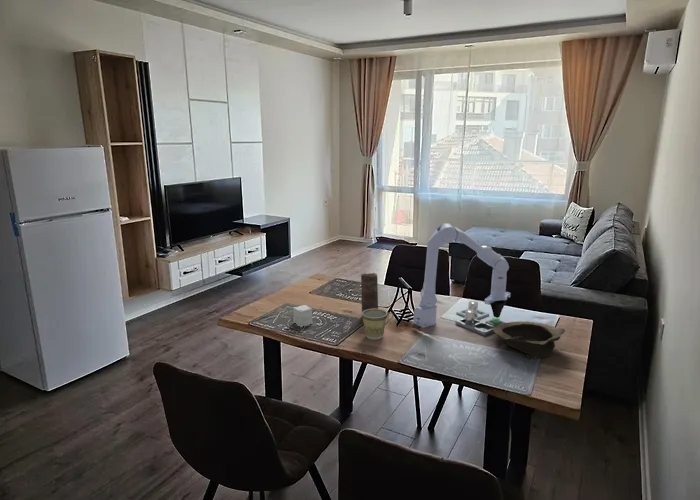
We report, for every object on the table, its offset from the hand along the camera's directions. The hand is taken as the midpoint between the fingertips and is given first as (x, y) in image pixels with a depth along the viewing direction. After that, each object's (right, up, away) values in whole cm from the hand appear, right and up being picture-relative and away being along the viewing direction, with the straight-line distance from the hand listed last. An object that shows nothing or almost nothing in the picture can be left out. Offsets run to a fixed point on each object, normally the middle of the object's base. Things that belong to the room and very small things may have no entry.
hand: (496, 316), depth 191 cm
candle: (-52, -2, +14) cm, 54 cm away
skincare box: (-82, -4, +6) cm, 82 cm away
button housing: (0, -4, +1) cm, 5 cm away
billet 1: (-7, -1, +12) cm, 14 cm away
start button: (0, -4, +1) cm, 5 cm away
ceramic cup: (-50, -7, -6) cm, 51 cm away
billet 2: (-11, -3, +1) cm, 12 cm away
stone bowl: (+5, -9, -18) cm, 21 cm away
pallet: (-9, -5, -2) cm, 10 cm away
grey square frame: (-7, -2, +12) cm, 14 cm away
